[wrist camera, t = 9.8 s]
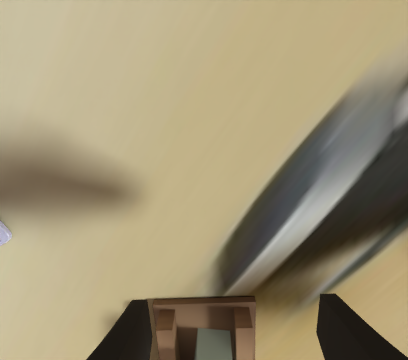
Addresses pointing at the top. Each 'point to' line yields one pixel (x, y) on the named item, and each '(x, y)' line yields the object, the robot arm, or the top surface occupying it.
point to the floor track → (204, 325)
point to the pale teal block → (213, 345)
